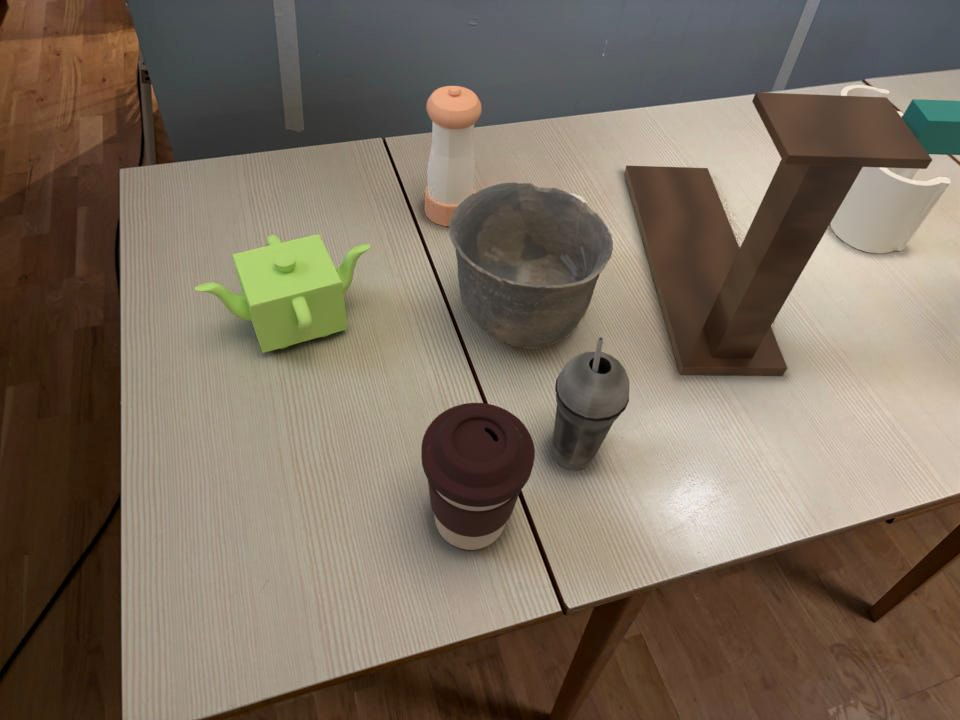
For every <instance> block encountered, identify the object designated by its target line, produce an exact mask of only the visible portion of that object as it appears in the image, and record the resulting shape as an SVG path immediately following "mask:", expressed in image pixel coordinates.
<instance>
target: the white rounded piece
mask: <svg viewBox="0 0 960 720" xmlns="http://www.w3.org/2000/svg"><path fill="white" fill-rule="evenodd" d="M889 95H890V90H887V89H886V88H878V87H875V86H870V85H866V84H851V85H846V86H845V87H843V88H842V89H841V90H840V92H839V94H838V96H862V97H886V98H887V99H888V97H889ZM896 111H897V112H898V114H899V115H900V116H901V118H902V116H903V115H904V112H902V111H899V110H896ZM919 170H920V169H912V168H881V167H862V169H861V171H860V173H859V174H858V176H857V178H856V180H855V181H854V183H853V185H852V187H851V188H850V190H849V192H848V193H847V195H846V197H845V199H844V200H843V202H842V204H841V206H840V207H839V209H838V211H837V213H836V214H835V216H834V218H833V219H832V221H831V223H830V225H829V226H830V229H831V230H832V231H833V233H834V234H835V236H836V237H837V238H839V239H840V240H841V241H842V242H844V244H846V245H848V246H850V247H852V248H854V249H857V250H859V251H862V252H867V253H870V254H888V253H892V252H893V251H897V252H902V251H904V249H905V248H906V246H908V243H909V242H910V241H911V239H912V238H913V237H914V235H915V234H916V233H917V231H918V229H920V227H921V225H922V224H923V223H924V221H925V220H926V218H927V217H928V216H929V214H930V213H931V211H932V210H933V208H934V207H935V205H936V204H937V203H938V201H939V200H940V198H941V197H942V196H943V194H944V193H945V192H946V190H947V189H948V187H949V186H950V184H951V183H952V180H951V179H950V178H949V177H948V176H936V177H935V178H932V179H929V180H917V179H914V178H915V177H916V175H917V173H918V172H919Z"/></svg>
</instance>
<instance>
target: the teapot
mask: <svg viewBox="0 0 960 720" xmlns="http://www.w3.org/2000/svg"><path fill="white" fill-rule="evenodd" d="M266 244H267V245H266V246H261V247H257V248H253V249H249V250H245V251H241V252H237V253H233V254H232V260H233V263H234V268H235V271H236V275H237V278H238V281H239V285H240V289H241V292H242V294H235V293H232V292H231V291H230V290H229V289H228V288H227V287H226V286H224V285H223V284H222V283H217V282H205V283H200V284H198V285H196V286H195V287H194V290H195V291H197V292H201V293H208V294H211V295H214V296H215V297H217V298H218V299H219V300H220V301H221V302H222V304H223V305H224V306H225V307H226V309H227V310H228V311H229V312H230V313H231V314H232V315H233V316H235V317H236V318H239V319H241V320H245V321H251V323H252V327H253V329H254V333H255V335H256V338H257V341H258V344H259V347H260V351H261V353H262V354H265V353H269V352H272V351H275V350H283V349H286V348H289V346H293V345H296V344H300V343H305V342H307V341H311V340H314V339H319V338H325V337H328V336H330V335H332V334H336V333H339V332H343V331H346V330H349V326H348V319H347V309H346V302H345V294H346V292H347V291H348V290H349V288H350V287H351V284H352V282H353V278H354V272H355V268H356V265H357V262H358V260H359V258H360V257H361V256H362V255H363V254H364V253H366V252H367V251H369V250H370V249H371V247H372V246H371V244H369V243H364V244H359V245H356V246H354V247H352V248H351V249H350V250H349V251H348V252H347V253H346V255H345V257H344V259H343V261H342V263H341V264H340V266H339V267H337V268H336V267H335V264H334V262H333V260H332V257H331V256H330V253H329V252H328V249H327V247H326V245H325V243H324V241H323V238H322V236H321V234H320V233H317V234H313V235H308V236H304V237H299V238H295V239H291V240H286V241H282V240H281V238H280V236H278V235H277V234H271V235H268V236H267V238H266Z"/></svg>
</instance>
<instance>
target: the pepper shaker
mask: <svg viewBox="0 0 960 720" xmlns="http://www.w3.org/2000/svg"><path fill="white" fill-rule="evenodd" d="M425 106H426V112H427V115H428V117H429V119H430V120H431V122H432V123H431V124H432V127H431V128H432V129H431V147H430V151H429V157H428V163H427V169H426V172H427V173H426V175H427V176H426V177H427V178H426V180H427V184H426V185H425V188H424V213H425V216H426V217H427V218H428V219H429V220H430V221H431V222H433V223H434V224H436V225H440V226H443V227H449V224H450V220H451V217H452V215H453V212H454V211H455V209H456V208H457V207H458V205H459V204H460V203H462V202H463V201H464V200H465V199H466V198H467V197H469V196H470V195H472V194H476V193H477V190H476V188H475V180H476V163H475V152H474V137H475V124H477V122H478V120H479V119H480V117H481V114H482V112H483V111H482V109H483V107H482V102H481V100H480V98H479V96H477V94H476V93H475V92H474V91H472V90H471V89H469V88H467V87H465V86H460V85H446V86H441V87H438V88H437V89H435V90H434V91H433V92H432V93H431V94H430V96H429V97H428V99H427V101H426V105H425Z"/></svg>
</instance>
